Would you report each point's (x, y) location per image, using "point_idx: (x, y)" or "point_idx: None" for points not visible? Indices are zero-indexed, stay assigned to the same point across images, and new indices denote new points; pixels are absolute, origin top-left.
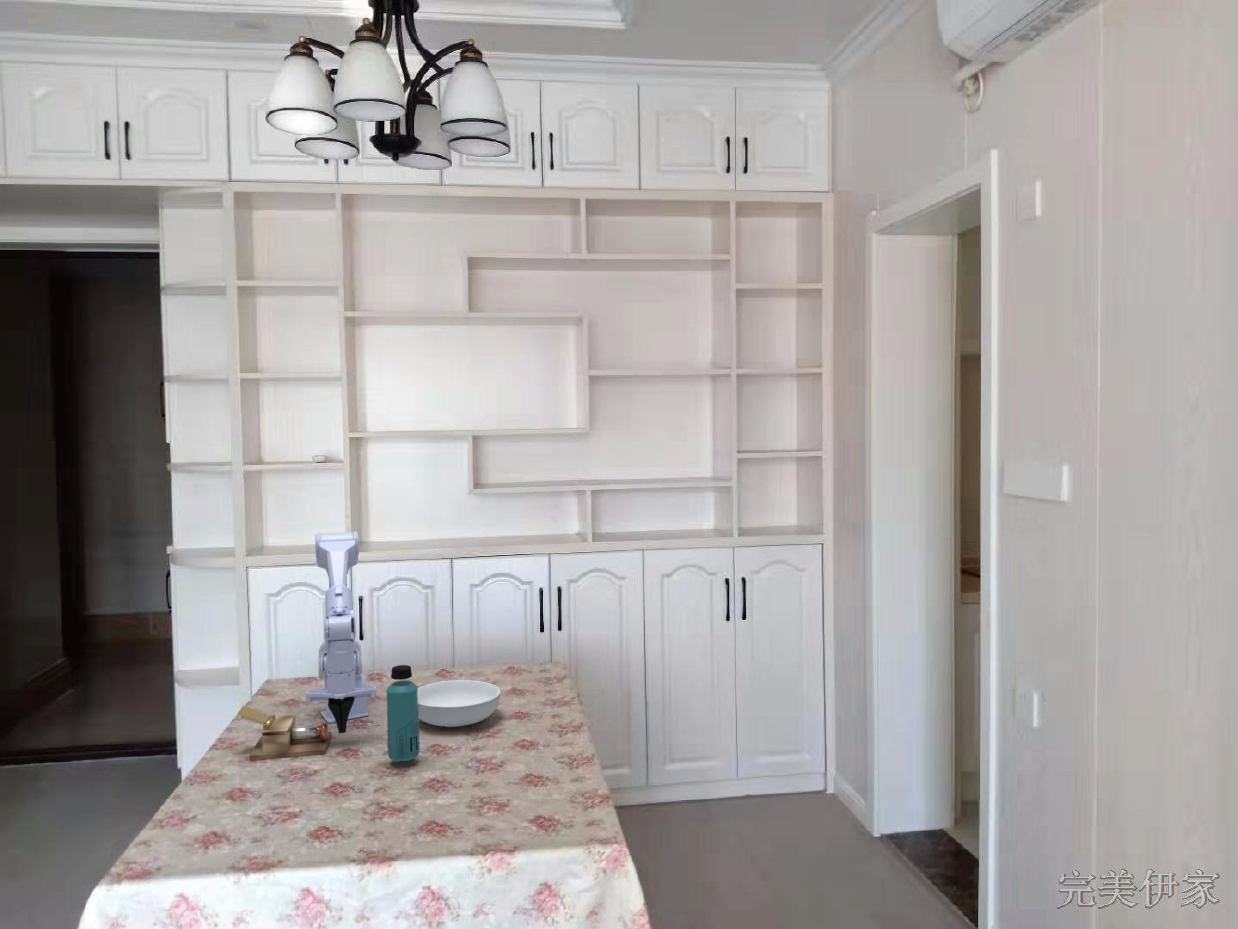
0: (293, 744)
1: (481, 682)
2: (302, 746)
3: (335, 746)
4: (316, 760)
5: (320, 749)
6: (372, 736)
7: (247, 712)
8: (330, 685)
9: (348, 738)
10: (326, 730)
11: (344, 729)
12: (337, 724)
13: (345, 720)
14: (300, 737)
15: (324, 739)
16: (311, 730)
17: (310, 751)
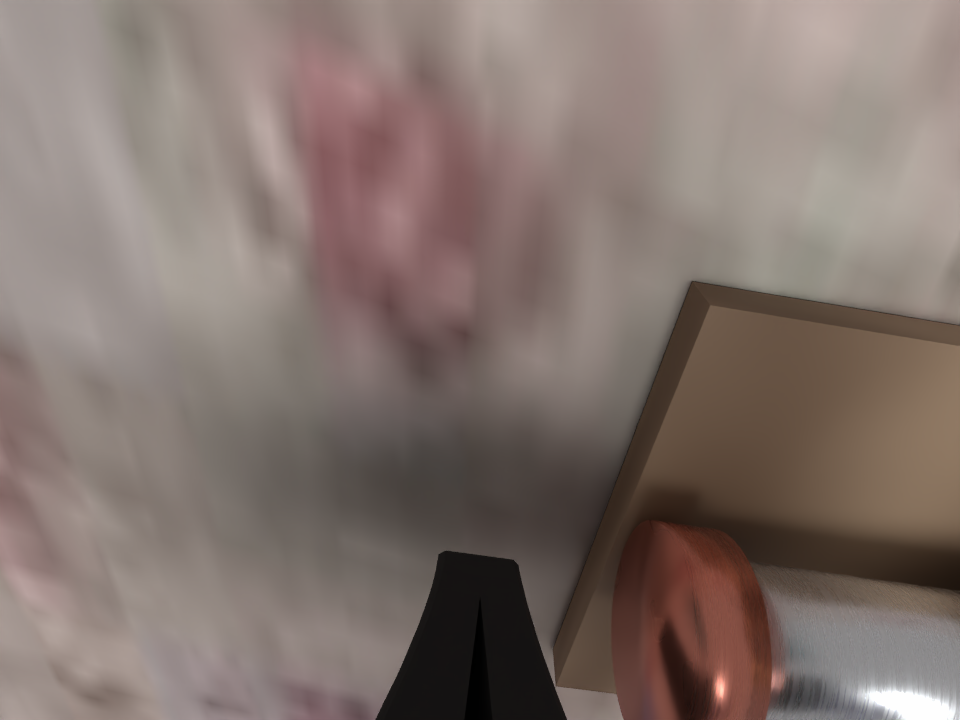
0: (955, 559)
1: None
2: (902, 487)
3: (549, 457)
4: (839, 122)
5: (757, 335)
6: (218, 550)
7: None
8: None
9: (424, 575)
10: (673, 623)
11: (444, 585)
12: (539, 668)
13: (408, 709)
14: (953, 600)
15: (676, 524)
16: (867, 660)
17: (879, 328)
